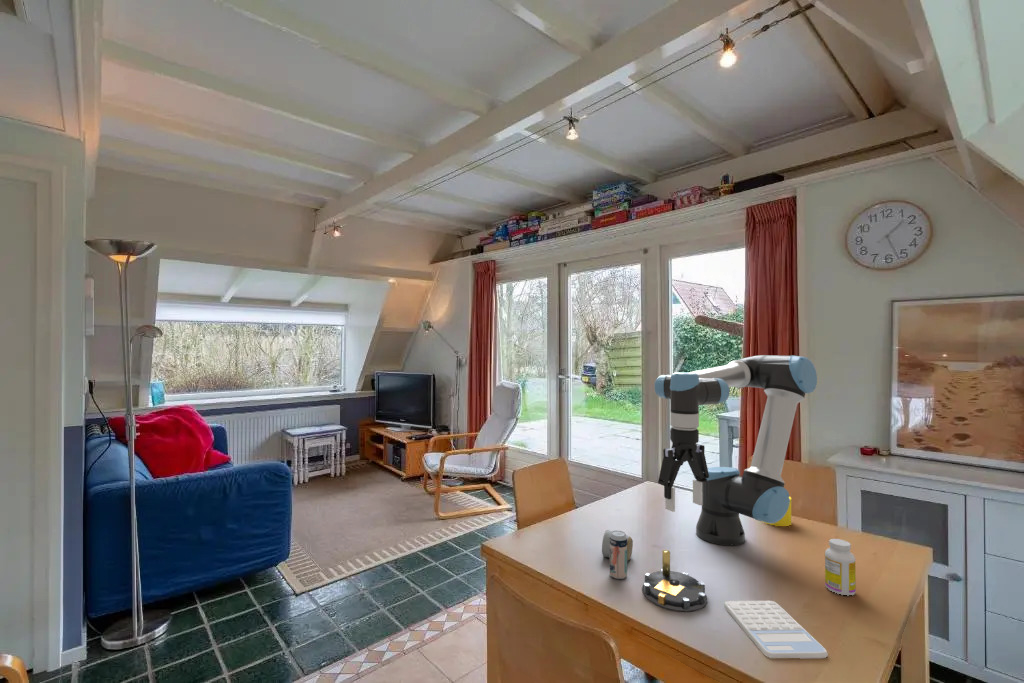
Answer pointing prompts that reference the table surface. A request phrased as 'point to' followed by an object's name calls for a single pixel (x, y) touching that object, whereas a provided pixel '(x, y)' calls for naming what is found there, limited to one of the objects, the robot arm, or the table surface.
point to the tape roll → (784, 518)
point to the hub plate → (674, 608)
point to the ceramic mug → (607, 545)
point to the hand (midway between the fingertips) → (684, 506)
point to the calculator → (774, 630)
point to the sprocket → (674, 586)
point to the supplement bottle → (840, 568)
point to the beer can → (618, 555)
